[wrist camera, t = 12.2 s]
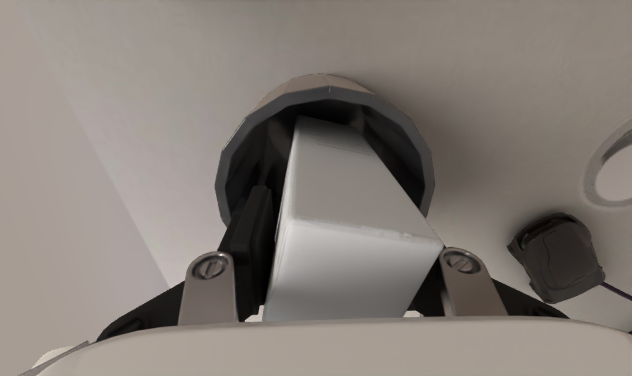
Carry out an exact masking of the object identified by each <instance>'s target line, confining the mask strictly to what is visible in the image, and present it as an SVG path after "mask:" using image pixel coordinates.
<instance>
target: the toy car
mask: <svg viewBox="0 0 632 376" xmlns="http://www.w3.org/2000/svg"><path fill="white" fill-rule="evenodd" d="M560 231H561V232H560ZM543 239H544V242H543ZM544 243H545V244H544ZM545 245H546V246H545ZM546 247H547V248H546ZM507 248H508V250H509V251H510V252H511V254H512V255H513V256H514V257H515V258H516V259H517V260H518V261H519V262H520V264H521V265H522V266H523V267H524V268H525V270H526V272H527V274H528V275H529V277H530V278H531V283H529V285H530V286H531V288H532V289H533V290H534V291H535V293H536V294H537V295H538V296H539V297H540V298H541V299H542V300H543V301H544V302H545V303H548V304H556V303H558V302H561V301H564V300H567V299H570V298H573V297H575V296H578V295H580V294H582V293H584V292H586V291H587V290H589V289H591V288H593V287H595V286H597V285H600V284H602V283H603V282H604V280H605V273H604V272H603V270H602V267H601V266H600V265H599V263H598V260H597V257H596V254H595V251H594V248H593V245H592V242H591V234H590V231H589V230H588V228H587V227H586V226H585V225H584V224H583V223H582V222H581V221H579V220H578V219H577V218H575V217H574V216H572V215H569V214H565V213H556V214H553V215H550V216H547V217H545V218H543V219H540V220H538V221H536V222H535V223H533V224H531V225H529V226H528V227H526V228H525V229H523V230H522V231H521V232H519V233H518V234H517V235H516V236H515V238H514V239H513V241H512V243H511V245H509V246H507ZM547 249H548V250H547ZM548 252H549V253H548Z"/></svg>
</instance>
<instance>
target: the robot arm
mask: <svg viewBox="0 0 632 376" xmlns="http://www.w3.org/2000/svg"><path fill="white" fill-rule="evenodd" d="M274 245H275V230H274V219H273V207H272V195H271V189H267V187H266V186H253V188H252V191H251V193H250V195H249V198H248V200H247V203H246V205H245V208H244V210H243V213H242V214H234V215H233V217H232V219H231V221H230V224H229V226H228V228H227V230H226V232H225V235H224V237H223V239H222V241H221V243H220V246H219V248H218V250H217V251H215V252H209V253H206V254H203V255H201V256H199V257H198V258H196V259H195V260H194V261H192V263H191V264H190V265H189V267H188V269H187V272H186V278H185V281H183V282H181V283H180V284H178V285H176V286H174V287H173V288H171V289H169V290H167V291H166V292H164V293H162V294H160V295H158V296H157V297H155V298H153V299H151V300H150V301H148V302H146V303H144V304H143V305H141V306H139V307H137V308H136V309H134V310H132V311H130V312H128V313H127V314H125V315H123V316H121V317H120V318H118V319H117V320H115V321H114V322H112V323H111V324H110V325H109V326H108V327H107V328H106V329H104V330H103V332H102V333H101V334H100V336H99V337H98V338H97V341H96V342H93V343H91V344H90V343H89V342H88V341H86V342H84V343H82V344H80V345H78V346H76V347H74V348H72V349H70V350H68V351H66V352H64V353H62V354H60V355H58V356H56V357H54V358H52V359H50V360H48V361H46V362H44V363H42V364H40V365H38V366H36V367H34V368H32V369H30V370H29V371H26V372H24V373H23V374H20V375H19V376H632V335H631V334H628V333H625V332H622V331H619V330H616V329H612V328H609V327H605V326H601V325H598V324H594V323H589V322H584V321H578V320H573V319H570V318H569V317H567V316H566V315H565V314H563V313H562V312H561V311H559V310H557V309H555V308H554V307H552V306H550V305H548V304H546V303H543V302H541V301H539V300H537V299H535V298H533V297H531V296H529V295H526V294H524V293H522V292H520V291H518V290H516V289H514V288H512V287H509V286H507V285H505V284H503V283H501V282H499V281H497V280H495V279H492V278H491V277H490V275H489V273H488V271H487V269H486V267H485V265H484V263H483V262H482V260H480V259H479V258H478V257H477V256H476V255H474V254H472V253H471V252H469V251H466V250H464V249H460V248H455V247H448V248H446V247H445V245H444V246H443V249H442V251H441V252H440V254H439V255H438V257H437V259H436V260H435V262H434V264H433V265H432V267H431V269H430V271H429V272H428V274H427V276H426V278H425V279H424V281H423V283H422V284H421V286H420V288H419V290H418V291H417V293H416V295H415V297H414V298H413V300H412V302H411V304H410V305H409V307H408V309H407V311H417V312H419V313H420V317H404V318H366V319H330V320H297V321H267V322H245V320H246V319H247V318H248V317H250V316H251V315H258V312H259V306H260V305H264V304H265V299H266V293H267V287H268V281H269V275H270V269H271V263H272V257H273V251H274Z"/></svg>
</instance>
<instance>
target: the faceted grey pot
mask: <svg viewBox="0 0 632 376" xmlns="http://www.w3.org/2000/svg"><path fill="white" fill-rule="evenodd" d="M298 115H304V116H308V117H312V118H316V119H321V120H325V121H329V122H334V123H338V124H342V125H347V126H352V127H355V128H357V129H358V130H359V132H360V133H361V134H362V135H363V137H364V138H365V139H366V141H367V142H368V143H369V145H370V146H371V147H372V149H373V150H374V151H375V153H376V154H377V155H378V157H379V158H380V159H381V161H382V162H383V163H384V165H385V166H386V167H387V169H388V170H389V171H390V173H391V174H392V175H393V177H394V178H395V179H396V181H397V182H398V183H399V185H400V186H401V187H402V188H403V190H404V191H405V192H406V194H407V195H408V197H409V198H410V199H411V200H412V202H413V203H414V204H415V206H416V207H417V208H418V210H419V211H420V212H421V214H422V215H423V216H424V218H426V216H427V214H428V210H429V206H430V203H431V199H432V195H433V191H434V188H435V179H434V172H433V165H432V158H431V151H430V148H429V147H428V145H427V144H426V142H425V140H424V139H423V137H422V136H421V134H420V133H419V131H418V129H417V128H416V126H415V125H414V123H413V121H412V120H411V119H410V118H409V117H408V116H407V115H405V114H404V113H402V112H401V111H399V110H398V109H396V108H395V107H393V106H392V105H391V104H389V103H388V102H386V101H385V100H383V99H382V98H380V97H379V96H377V95H375V94H374V93H372V92H370V91H369V90H367V89H365V88H363V87H362V86H360V85H358V84H356V83H355V82H353V81H351V80H349V79H347V78H342V77H338V76H334V75H328V74H322V73H321V74H320V73H319V74H310V75H305V76H300V77H297V78H293V79H291V80H289V81H287V82H286V83H284V84H282V85H280V86H279V87H278V88H276V89H275V90H273V91H272V92H270V93H269V94H268V95H267V96H266V97H265V98H264V99H263V100H262V101H261V102H260V103H259V104H258V105H257V106H256V107H255V108H254V109H253V110H252V111H251V112H250V113H249V114H248V115H247V116H246V117H245V118H244V120H243V121H242V123H241V124H240V125H239V127H238V128H237V130H236V131H235V132H234V134H233V135H232V137H231V138H230V139H229V141H228V142H227V144H226V145H225V146H224V148H223V149H222V152H221V156H220V161H219V166H218V171H217V175H216V180H215V191H216V196H217V201H218V206H219V211H220V216H221V218H222V221H223V222H224V224H225V226H226V227H227V228H228V226H229V224H230V221H231V219H232V217H233V215H234V214H242V213H243V210H244V208H245V205H246V203H247V200H248V198H249V195H250V193H251V191H252V188H253V186H266V187H267V189H271V195H272V207H273V219H274V230H275V237H276V230H277V224H278V217H279V211H280V204H281V198H282V192H283V186H284V180H285V174H286V168H287V163H288V157H289V152H290V146H291V141H292V137H293V132H294V127H295V123H296V118H297V116H298Z"/></svg>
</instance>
